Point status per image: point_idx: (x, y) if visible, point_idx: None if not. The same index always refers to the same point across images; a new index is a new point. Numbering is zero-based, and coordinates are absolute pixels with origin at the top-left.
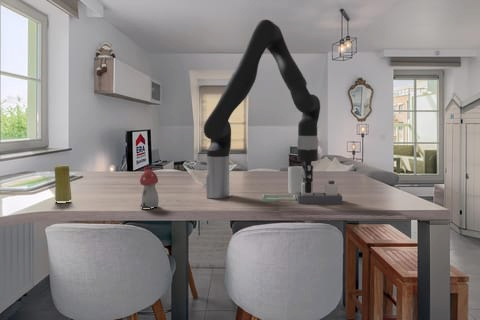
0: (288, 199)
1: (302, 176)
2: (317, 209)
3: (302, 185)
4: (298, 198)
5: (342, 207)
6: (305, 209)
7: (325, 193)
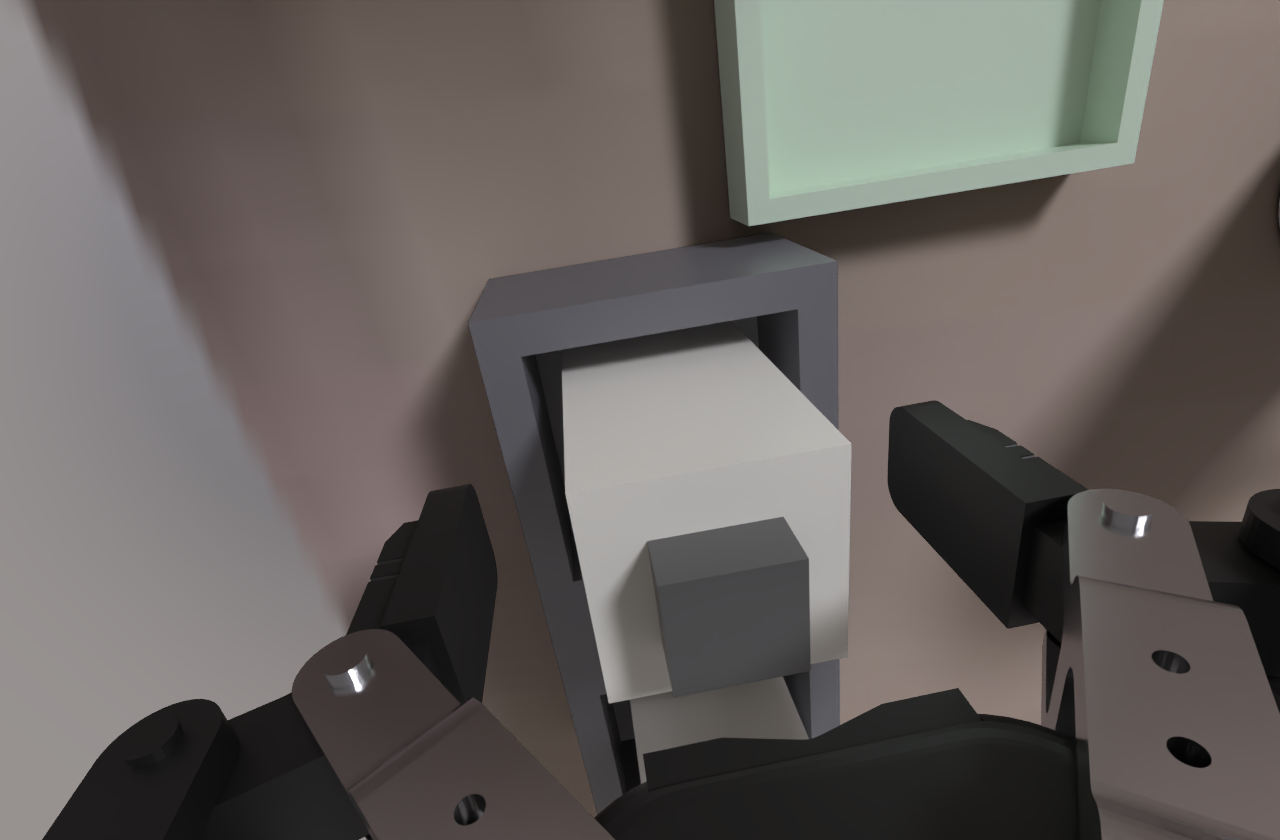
0: (738, 82)
1: (1268, 494)
2: (381, 533)
3: (565, 481)
4: (474, 311)
5: (575, 737)
6: (320, 396)
7: (738, 693)
